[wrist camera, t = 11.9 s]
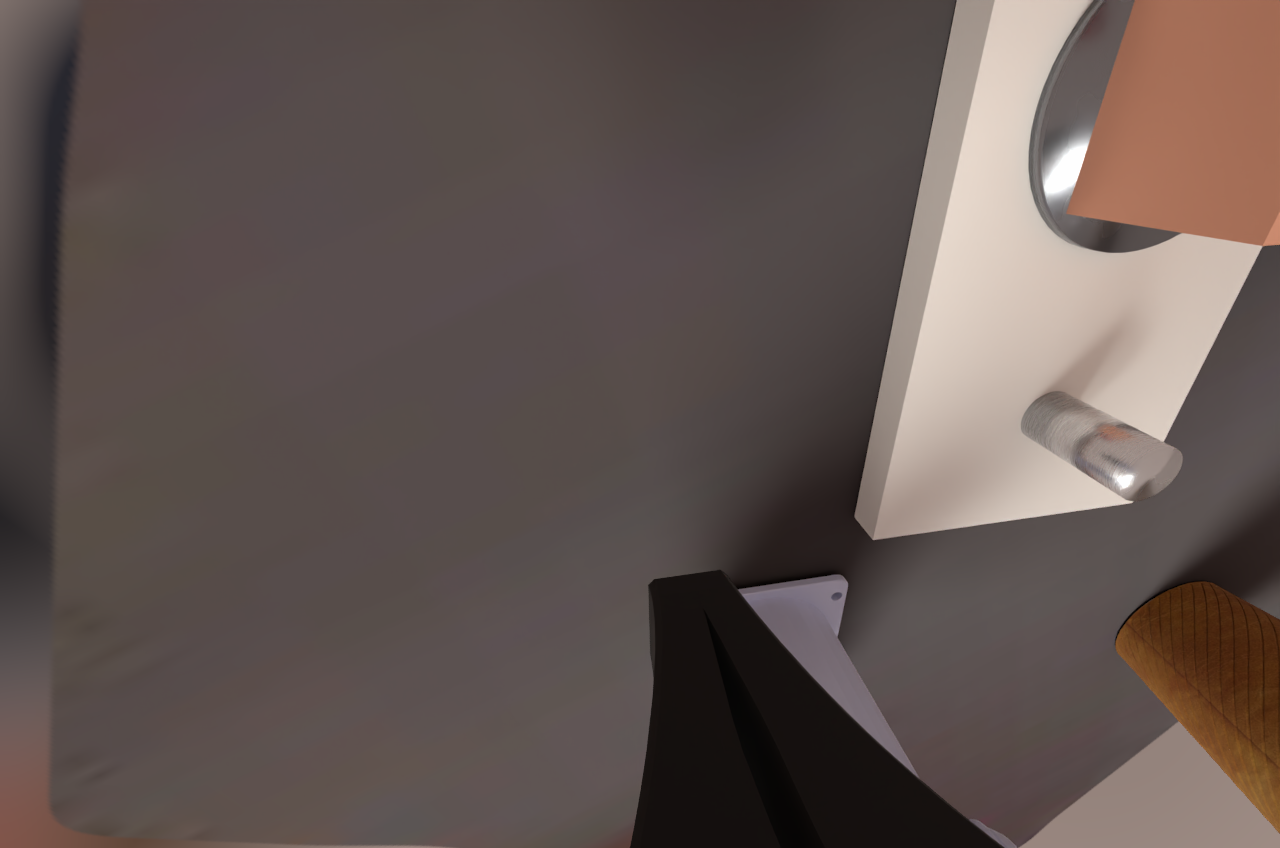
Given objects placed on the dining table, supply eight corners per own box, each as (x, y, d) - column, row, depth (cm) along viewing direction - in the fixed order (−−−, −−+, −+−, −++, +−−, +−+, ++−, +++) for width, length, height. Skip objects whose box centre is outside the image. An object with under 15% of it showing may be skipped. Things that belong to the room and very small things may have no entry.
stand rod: (1061, 435, 21) (1164, 497, 17) (1013, 441, 21) (1110, 504, 17) (1079, 388, 20) (1194, 443, 16) (1030, 393, 20) (1136, 451, 16)
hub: (1215, 241, 18) (1379, 268, 14) (994, 258, 17) (1112, 292, 13) (1365, -82, 14) (1640, -152, 10) (1089, -84, 13) (1290, -162, 9)
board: (1101, 483, 25) (1132, 503, 23) (854, 517, 23) (873, 540, 22) (1375, -112, 15) (1454, -135, 14) (980, -119, 13) (1027, -145, 12)
